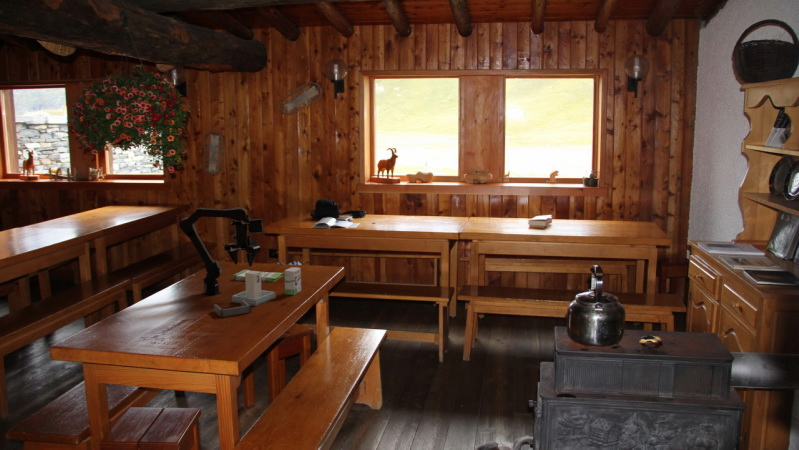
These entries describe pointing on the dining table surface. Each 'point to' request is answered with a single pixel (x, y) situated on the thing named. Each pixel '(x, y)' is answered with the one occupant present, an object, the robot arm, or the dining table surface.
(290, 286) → the ink box
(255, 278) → the tall beige block
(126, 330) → the dining table surface
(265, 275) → the dish towel
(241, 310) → the bay
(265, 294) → the tray
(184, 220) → the robot arm
